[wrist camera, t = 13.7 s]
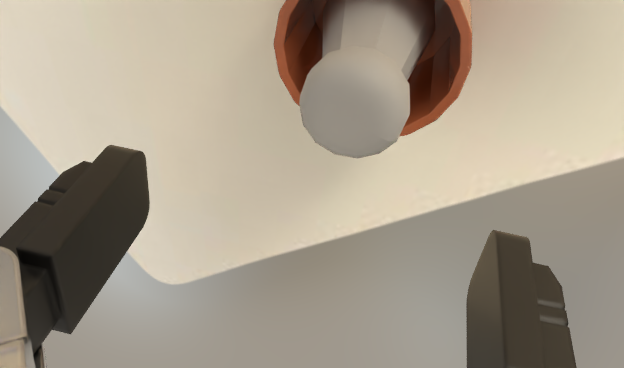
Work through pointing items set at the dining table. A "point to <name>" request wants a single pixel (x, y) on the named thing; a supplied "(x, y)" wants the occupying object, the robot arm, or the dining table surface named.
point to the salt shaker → (365, 73)
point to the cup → (423, 80)
